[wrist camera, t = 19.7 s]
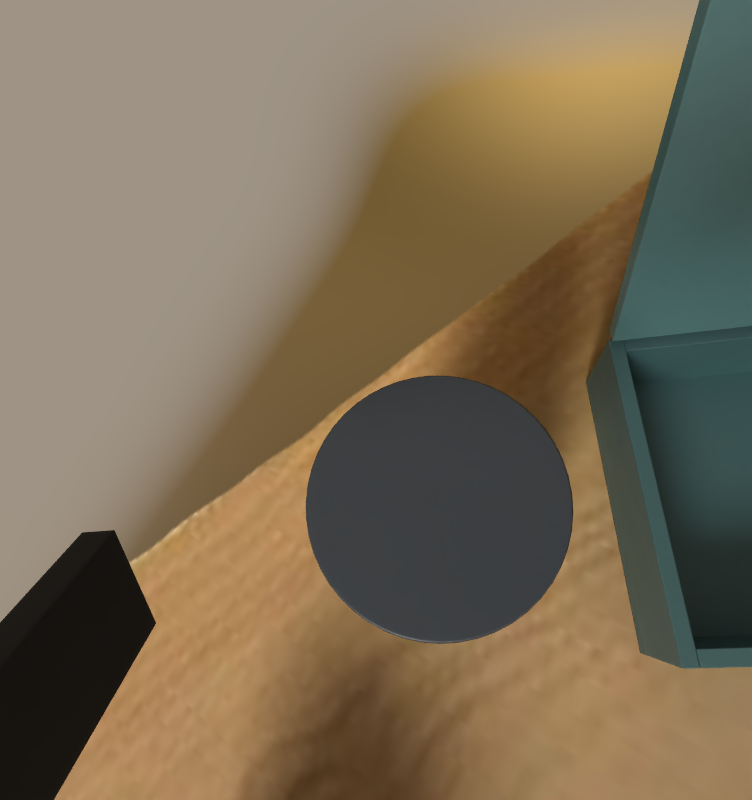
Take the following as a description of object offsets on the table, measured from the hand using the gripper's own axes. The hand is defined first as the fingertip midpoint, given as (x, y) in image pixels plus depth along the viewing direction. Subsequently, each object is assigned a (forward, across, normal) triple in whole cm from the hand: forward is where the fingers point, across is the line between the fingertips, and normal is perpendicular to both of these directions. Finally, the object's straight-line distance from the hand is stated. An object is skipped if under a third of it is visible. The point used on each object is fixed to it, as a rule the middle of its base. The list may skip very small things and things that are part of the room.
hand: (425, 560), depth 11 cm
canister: (+18, 0, -15) cm, 24 cm away
